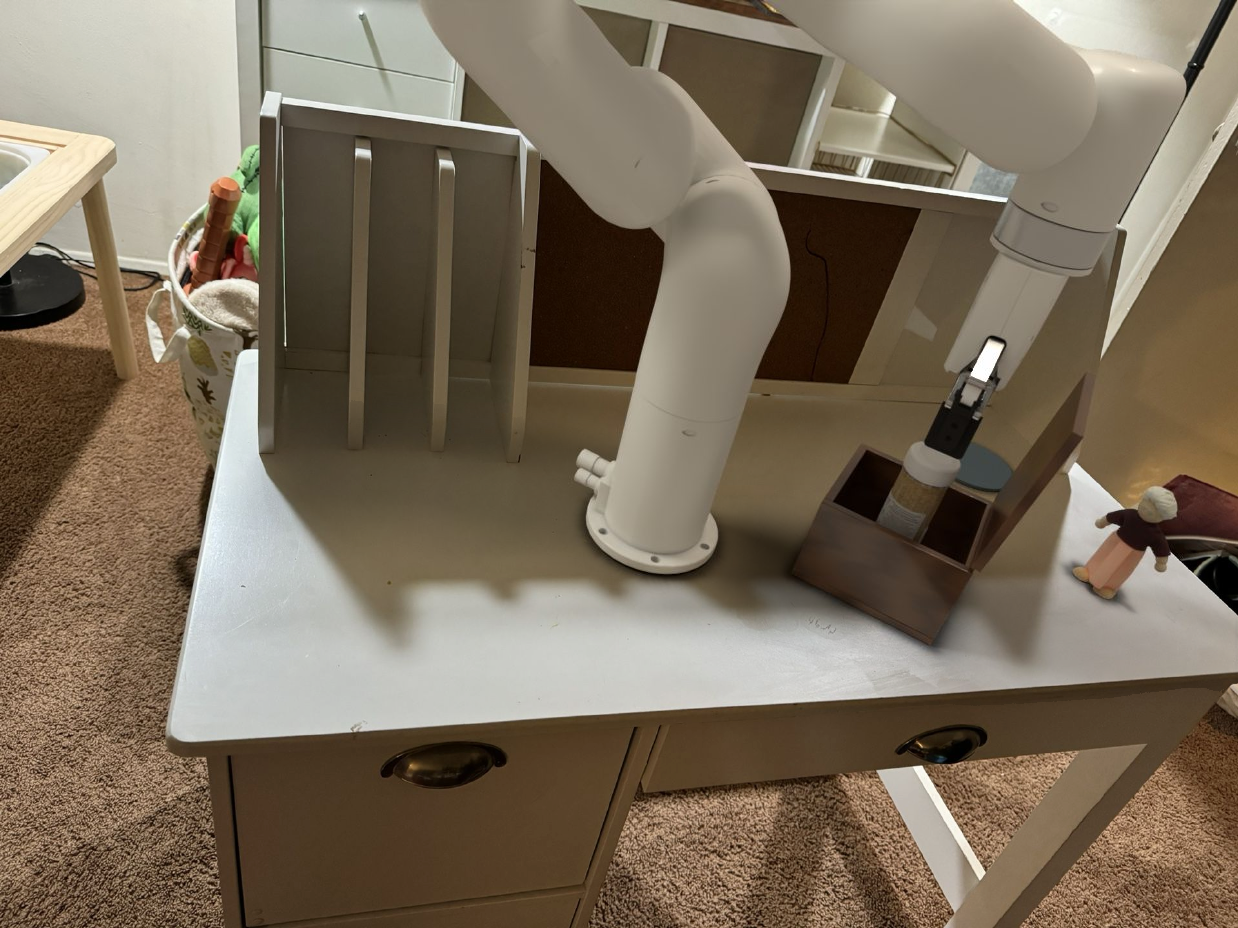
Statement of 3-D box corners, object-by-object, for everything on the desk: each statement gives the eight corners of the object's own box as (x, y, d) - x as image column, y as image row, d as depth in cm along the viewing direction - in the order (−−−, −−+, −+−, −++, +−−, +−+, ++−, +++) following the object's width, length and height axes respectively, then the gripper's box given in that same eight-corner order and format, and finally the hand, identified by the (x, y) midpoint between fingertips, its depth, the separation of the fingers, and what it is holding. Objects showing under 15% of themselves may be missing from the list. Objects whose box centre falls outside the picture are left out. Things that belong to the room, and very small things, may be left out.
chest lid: (1072, 431, 63) (1084, 437, 63) (1086, 370, 72) (1096, 375, 72) (970, 567, 72) (980, 572, 71) (995, 497, 81) (1003, 501, 81)
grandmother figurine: (1056, 569, 90) (1121, 473, 83) (1072, 557, 92) (1136, 463, 85) (1127, 618, 86) (1202, 521, 78) (1142, 604, 88) (1216, 508, 81)
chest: (790, 573, 81) (821, 501, 76) (831, 510, 91) (861, 442, 85) (930, 645, 77) (972, 574, 72) (957, 571, 86) (997, 503, 81)
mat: (920, 465, 101) (922, 462, 101) (938, 430, 109) (940, 428, 109) (1005, 503, 98) (1006, 500, 98) (1017, 465, 106) (1019, 462, 106)
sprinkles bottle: (912, 575, 83) (973, 464, 75) (881, 588, 81) (940, 475, 73) (878, 545, 86) (932, 435, 78) (847, 557, 83) (900, 444, 76)
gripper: (1015, 196, 72) (933, 373, 81) (977, 248, 58) (886, 451, 68) (1108, 227, 69) (1013, 405, 79) (1091, 288, 56) (979, 492, 66)
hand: (954, 426), depth 74 cm, fingers open, 9 cm apart
